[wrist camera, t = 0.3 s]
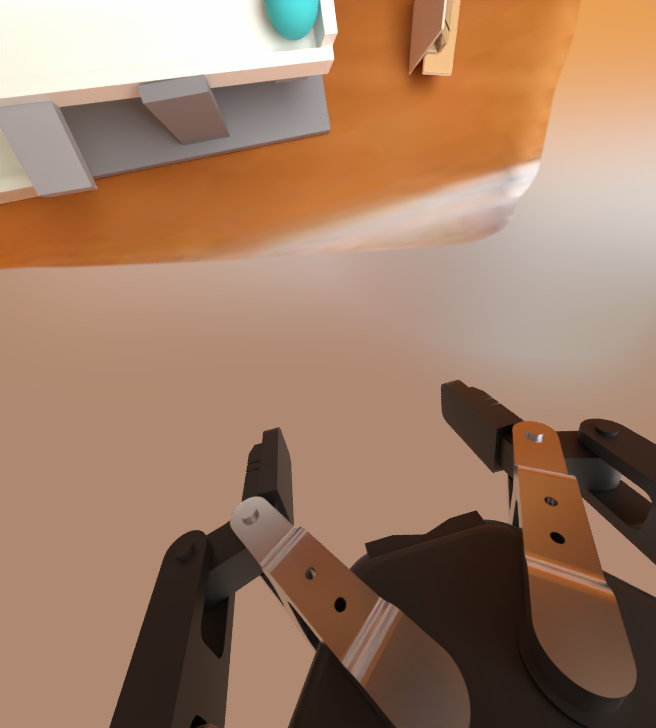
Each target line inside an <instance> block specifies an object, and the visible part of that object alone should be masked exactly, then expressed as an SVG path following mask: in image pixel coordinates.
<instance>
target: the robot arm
mask: <svg viewBox="0 0 656 728" xmlns="http://www.w3.org/2000/svg"><path fill="white" fill-rule="evenodd" d="M441 404H442V414H443V417H444V419H445V420H446V422H447V423H448V424H449V425H450V426H451V427H452V428H453V430H455V432H456V433H457V434H458V435H459V436H460V437H461V438H462V439H463V441H464V442H465V443H466V444H467V445H468V446H469V447H470V448H471V449H472V450H473V452H474V453H475V454H476V455H477V456H478V457H479V458H480V459H481V460H482V461H483V462H484V463H485V465H486V466H487V467H488V468H489V469H490V470H491V471H492V472H493V473H495V472H498V471H502V470H504V471H505V472H506V473H507V497H508V524H507V523H504V522H500V521H495V520H483V519H482V517H481V516H480V515H479V513H478V512H477V511H473V512H469V513H466V514H463V515H459V516H456V517H453V518H450V519H448V520H446V521H445V522H443V523H442V524H440V525H439V526H437V527H436V528H434V529H433V530H431V531H430V532H428V533H427V534H423V535H392V536H389V537H385V538H382V539H379V540H375V541H372V542H368V543H365V546H366V550H367V554H366V555H364V556H363V557H361V558H360V559H359V560H358V561H357V562H356V563H355V564H354V565H353V566H352V567H351V568H350V569H348V568H347V567H346V566H345V565H344V564H343V563H342V562H341V561H340V560H338V559H337V558H336V557H335V556H334V555H333V554H332V553H331V552H329V550H327V549H326V548H325V547H324V546H323V545H322V544H321V543H320V542H319V541H317V540H316V539H315V538H314V537H313V536H312V535H311V534H310V533H309V532H308V531H306V530H305V529H304V528H302V527H299V528H298V529H297V528H295V527H294V519H293V497H292V473H291V460H290V455H289V451H288V449H287V446H286V443H285V440H284V437H283V435H282V432H281V429H280V428H279V427H278V428H274V429H271V430H267V431H264V432H263V439H262V443H260V444H257V445H254V447H253V449H252V450H251V452H250V453H249V457H248V465H247V470H246V472H247V473H246V477H245V483H244V490H243V496H242V502H241V504H239V505H238V506H237V507H236V508H235V510H234V512H233V513H232V515H231V518H230V521H229V522H227V523H226V524H225V525H223V526H222V527H220V528H218V529H216V530H215V531H213V532H211V533H210V534H208V535H205V534H204V532H202V531H200V530H193V531H190V532H187V533H185V534H184V535H182V536H181V537H179V538H178V539H177V540H176V541H175V542H174V543H173V544H172V545H171V546H170V547H169V549H168V550H167V552H166V554H165V556H164V559H163V562H162V565H161V568H160V571H159V575H158V577H157V580H156V583H155V587H154V590H153V593H152V596H151V599H150V602H149V605H148V609H147V612H146V615H145V618H144V621H143V624H142V627H141V630H140V634H139V637H138V640H137V643H136V647H135V649H134V652H133V656H132V659H131V662H130V665H129V668H128V671H127V674H126V677H125V681H124V684H123V687H122V690H121V693H120V696H119V699H118V702H117V706H116V709H115V712H114V715H113V718H112V721H111V724H110V727H109V728H224V725H225V713H226V700H227V688H228V676H229V675H228V674H229V664H230V652H231V639H232V627H233V614H234V602H235V592H236V591H237V590H239V589H240V588H242V587H243V586H245V585H246V584H248V583H249V582H250V581H252V580H253V579H255V578H256V577H258V576H260V578H261V579H262V580H263V582H264V583H265V584H266V586H267V587H268V588H269V590H270V591H271V592H272V594H273V595H274V596H275V597H276V599H277V600H278V601H279V603H280V604H281V605H282V607H283V608H284V609H285V611H286V612H287V613H288V615H289V616H290V618H291V619H292V621H293V622H294V624H295V625H296V627H297V628H298V630H299V631H300V632H301V634H302V635H303V637H304V638H305V639H306V641H307V642H308V643H309V645H310V646H311V647H312V649H313V650H314V651H315V653H316V654H315V656H314V659H313V662H312V664H311V667H310V670H309V672H308V675H307V678H306V681H305V683H304V686H303V688H302V691H301V694H300V697H299V699H298V702H297V705H296V708H295V710H294V713H293V715H292V718H291V721H290V723H289V726H288V728H656V597H654V596H652V595H650V594H648V593H646V592H644V591H642V590H640V589H638V588H636V587H634V586H632V585H630V584H628V583H627V582H625V581H623V580H620V579H619V578H617V577H615V576H613V575H611V574H609V573H607V572H605V571H603V570H602V568H601V564H600V561H599V557H598V554H597V550H596V546H595V543H594V539H593V536H592V532H591V529H590V525H589V521H588V518H587V514H586V511H585V507H584V504H583V500H582V498H584V499H585V500H586V501H587V502H588V503H589V504H590V505H591V506H592V507H593V508H594V509H596V510H597V511H598V512H599V513H600V514H601V515H602V516H603V517H604V518H605V519H606V520H608V521H609V522H610V523H611V524H612V525H613V526H614V527H615V528H616V529H617V530H619V532H621V533H622V534H623V535H624V536H625V537H626V538H627V539H628V540H629V541H630V542H631V543H633V544H634V545H635V546H636V547H637V548H638V549H639V550H640V551H641V552H642V553H644V555H646V556H647V557H648V558H649V559H650V560H651V561H652V562H653V563H654V564H655V565H656V444H654V443H652V442H651V441H649V440H647V439H646V438H644V437H642V436H640V435H638V434H637V433H635V432H633V431H632V430H630V429H628V428H627V427H625V426H623V425H621V424H618V423H615V422H613V421H609V420H604V419H588V420H584V421H583V422H582V423H581V424H580V428H579V431H554V430H553V429H552V428H551V427H549V426H547V425H545V424H542V423H538V422H533V421H523V420H522V419H521V418H519V417H518V416H516V415H515V414H514V413H512V412H511V411H510V410H508V409H507V408H505V407H504V406H503V405H502V404H499V402H498V401H496V400H495V399H492V397H491V396H489V395H488V394H487V393H485V392H484V391H481V390H479V389H477V388H474V387H467V386H466V385H465V384H464V383H462V382H461V381H460V380H455V381H451V382H448V383H444V384H442V386H441ZM622 474H623V475H624V476H625V477H627V478H628V479H629V480H631V481H632V482H633V483H635V484H636V485H638V486H639V487H640V488H642V489H643V490H644V491H645V492H646V493H647V494H648V495H649V497H650V499H651V501H652V503H651V502H649V501H648V500H647V499H645V498H644V497H643V496H641V495H640V494H639V493H637V492H636V491H635V490H633V489H632V488H631V487H629V486H628V485H627V484H626V483H624V482H623V481H621V480H620V479H621V476H622Z"/></svg>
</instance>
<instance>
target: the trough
mask: <svg viewBox="0 0 656 728" xmlns="http://www.w3.org/2000/svg"><path fill="white" fill-rule="evenodd" d="M337 33H338V32H337V25H336V17H335V9H334V2H333V0H319V4H318V12H317V17H316V20H315V23H314V25H313V27H312V29H311V30H310V32H309V33H308V34H307V35H306V36H305V37H303V38H301V39H299V40H289V39H286V38H285V37H283V36H282V35H280V34H279V33H278V32H277V30H276V29H275V28H274V26H273V25H272V23H271V21H270V19H269V16H268V13H267V10H266V7H265V1H264V0H0V128H1V130H2V132H3V133H4V135H5V137H6V139H7V141H8V142H9V144H10V146H11V148H12V149H13V151H14V153H15V155H16V157H17V158H18V160H19V162H20V164H21V166H22V167H23V169H24V171H25V173H26V174H27V176H28V178H29V180H30V182H31V183H32V185H33V187H34V189H35V191H36V192H37V194H38V196H41V197H45V198H49V197H55V196H61V195H67V194H73V193H79V192H85V191H91V190H96V189H98V188H97V186H96V184H95V181H94V179H93V177H92V175H91V173H90V171H89V169H88V167H87V165H86V163H85V160H84V158H83V156H82V154H81V152H80V150H79V148H78V146H77V144H76V142H75V139H74V137H73V135H72V133H71V131H70V129H69V127H68V125H67V123H66V120H65V118H64V116H63V114H62V112H61V110H60V108H59V107H64V106H72V105H80V104H88V103H96V102H104V101H112V100H120V99H128V98H136V97H141V96H140V94H139V91H138V88H137V86H141V85H146V84H152V83H157V82H163V81H168V80H174V79H179V78H185V77H190V76H196V75H201V74H204V76H205V78H206V80H207V82H208V84H209V87H210V88H216V87H224V86H232V85H240V84H248V83H256V82H264V81H272V80H275V83H282V82H290V81H297V80H305V79H307V76H312V75H320V74H328V73H329V70H330V68H331V66H332V63H333V61H334V54H333V47H332V46H333V43H334V41H335V38H336V36H337Z"/></svg>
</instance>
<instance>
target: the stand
mask: <svg viewBox="0 0 656 728" xmlns="http://www.w3.org/2000/svg"><path fill="white" fill-rule="evenodd" d="M137 88H138V91H139V94H140V96H141V97H136V98H128V99H120V100H112V101H104V102H96V103H88V104H80V105H72V106H64V107H59V108H60V110H61V112H62V114H63V116H64V118H65V120H66V123H67V125H68V127H69V129H70V131H71V133H72V135H73V137H74V139H75V142H76V144H77V146H78V148H79V150H80V152H81V154H82V156H83V158H84V160H85V163H86V165H87V167H88V169H89V171H90V173H91V175H92V177H93V179H94V180H95V179H100V178H105V177H110V176H115V175H120V174H125V173H130V172H135V171H140V170H145V169H150V168H155V167H160V166H165V165H170V164H175V163H180V162H185V161H190V160H195V159H200V158H206V157H211V156H216V155H221V154H226V153H231V152H236V151H241V150H246V149H251V148H256V147H261V146H266V145H271V144H276V143H281V142H286V141H291V140H296V139H301V138H306V137H311V136H316V135H321V134H326V133H329V132H330V124H329V117H328V111H327V104H326V98H325V91H324V85H323V78H322V74H320V75H312V76H307V79H305V80H297V81H290V82H282V83H275V80H272V81H264V82H256V83H248V84H240V85H232V86H224V87H216V88H210V87H209V84H208V82H207V80H206V78H205V76H204V74H201V75H196V76H190V77H185V78H179V79H174V80H168V81H163V82H157V83H152V84H146V85H141V86H137Z"/></svg>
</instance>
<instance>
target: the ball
mask: <svg viewBox="0 0 656 728" xmlns="http://www.w3.org/2000/svg"><path fill="white" fill-rule="evenodd" d="M264 1H265V7H266V10H267V13H268V16H269V19H270V21H271V23H272V25H273V26H274V28H275V29H276V30H277V32H278V33H279V34H280V35H282V36H283V37H285V38H286V39H289V40H299V39H301V38H303V37H305V36H306V35H307V34H308V33H309V32H310V30H311V29H312V27H313V25H314V23H315V20H316V17H317V12H318V4H319V0H264Z"/></svg>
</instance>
